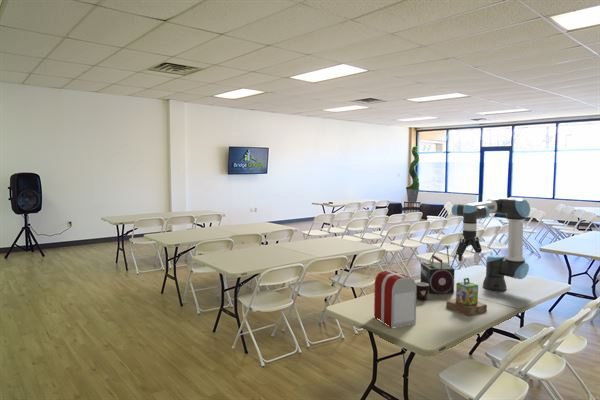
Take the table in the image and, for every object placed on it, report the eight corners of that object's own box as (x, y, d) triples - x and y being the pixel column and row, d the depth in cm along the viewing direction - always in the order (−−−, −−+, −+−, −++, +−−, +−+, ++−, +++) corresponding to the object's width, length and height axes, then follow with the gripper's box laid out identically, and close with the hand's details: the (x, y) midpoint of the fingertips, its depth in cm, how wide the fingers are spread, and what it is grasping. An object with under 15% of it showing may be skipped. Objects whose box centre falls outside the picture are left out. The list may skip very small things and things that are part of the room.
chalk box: (467, 306, 232) (468, 281, 231) (455, 301, 240) (456, 277, 239) (478, 303, 237) (479, 279, 235) (465, 298, 245) (466, 275, 243)
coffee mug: (429, 298, 258) (429, 283, 257) (427, 302, 251) (427, 286, 250) (410, 295, 263) (411, 280, 262) (408, 299, 255) (409, 284, 255)
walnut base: (464, 302, 249) (464, 296, 249) (486, 311, 235) (486, 304, 235) (446, 307, 242) (446, 300, 242) (468, 315, 228) (468, 309, 227)
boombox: (418, 285, 284) (419, 245, 281) (446, 285, 285) (447, 244, 282) (427, 294, 266) (428, 250, 263) (457, 293, 267) (458, 250, 264)
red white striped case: (391, 328, 210) (392, 279, 208) (373, 317, 227) (373, 271, 224) (416, 323, 217) (417, 276, 214) (396, 312, 233) (397, 268, 231)
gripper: (478, 227, 245) (477, 260, 247) (449, 230, 234) (449, 265, 236) (488, 228, 239) (487, 263, 241) (460, 232, 227) (459, 268, 229)
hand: (468, 264), depth 238 cm, fingers open, 13 cm apart
